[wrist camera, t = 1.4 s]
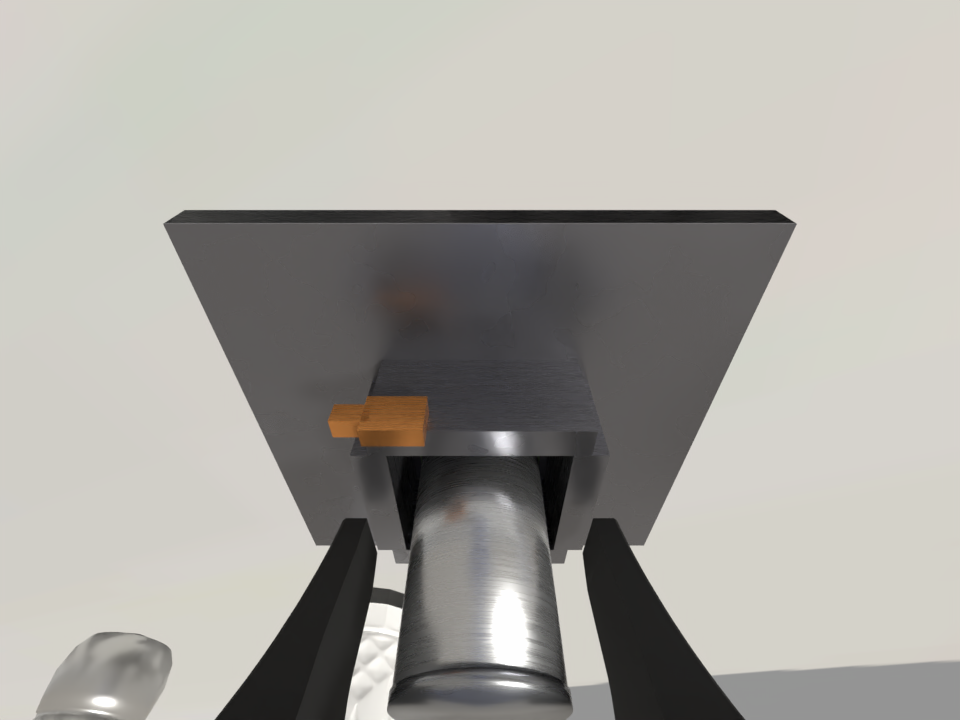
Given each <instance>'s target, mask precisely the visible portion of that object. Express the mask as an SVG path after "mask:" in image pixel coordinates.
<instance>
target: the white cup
mask: <svg viewBox="0 0 960 720" xmlns="http://www.w3.org/2000/svg"><path fill="white" fill-rule="evenodd" d="M403 601H404V594H403V593H401V592H398V591H394V590H391V589H385V588H376V587H373V591H372V595H371V600H370V604H369V608H368V613H367V617H366V621H365V625H364V630H363V634H362V638H361V642H360V646H359V651H358V655H357V659H356V663H355V667H354V672H353V676H352V681H351V686H350V691H349V696H348V702H347V709H346V715H345V720H394V719H393V718H392V717H390V716H389V714H388V713H387V705H388V697H389V691H390V689H391V687H392V684H393V677H394V669H395V661H396V654H397V646H398V639H399V631H400V624H401V616H402V608H403Z"/></svg>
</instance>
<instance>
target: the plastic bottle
mask: <svg viewBox="0 0 960 720" xmlns="http://www.w3.org/2000/svg"><path fill="white" fill-rule="evenodd" d="M171 668H172V651H171V649H170V648H169V647H168V646H167V645H165V644H164V643H162V642H159V641H157V640H154V639H152V638H149V637H146V636H144V635H141V634H136V633H123V632H102V633H97V634H94V635H92V636H91V637H89V638H88V639H86V640H85V641H83V642H82V643H80V644H79V645H77V646H76V647H75V648H74V649H73V651H72V652H71V653H70V654H69V655H68V656H67V658H66V659H65V660H64V661H63V662H62V664H61V665H60V666H59V667H58V668H57V670H56V672H55V673H54V675H53V677H52V679H51V681H50V683H49V685H48V687H47V689H46V691H45V692H44V694H43V697H42V699H41V701H40V703H39V706H38V708H37V710H36V713H37V715H36V717H35V718H34V719H33V720H145V719H146V718H147V716H148V715H149V713H150V712H151V710H152V709H153V707H154V705H155V704H156V702H157V700H158V699H159V697H160V695H161V694H162V692H163V690H164V689H165V686H166V683H167V680H168V677H169V674H170V671H171Z"/></svg>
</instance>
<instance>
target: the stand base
mask: <svg viewBox="0 0 960 720" xmlns="http://www.w3.org/2000/svg"><path fill="white" fill-rule="evenodd" d="M163 225H164V227H165V229H166V231H167V233H168V235H169V238H170V240H171V242H172V244H173V246H174V248H175V250H176V252H177V254H178V256H179V259H180V261H181V263H182V265H183V267H184V269H185V271H186V273H187V275H188V277H189V280H190V282H191V284H192V286H193V288H194V290H195V292H196V294H197V296H198V298H199V301H200V303H201V305H202V307H203V309H204V311H205V313H206V315H207V317H208V319H209V322H210V324H211V326H212V328H213V330H214V332H215V334H216V336H217V338H218V340H219V343H220V345H221V347H222V349H223V351H224V353H225V355H226V357H227V359H228V362H229V364H230V366H231V368H232V370H233V372H234V374H235V376H236V378H237V380H238V383H239V385H240V387H241V389H242V391H243V393H244V395H245V397H246V399H247V401H248V404H249V406H250V408H251V410H252V412H253V414H254V416H255V418H256V420H257V422H258V425H259V427H260V429H261V431H262V433H263V435H264V437H265V439H266V441H267V443H268V446H269V448H270V450H271V452H272V454H273V456H274V458H275V460H276V462H277V464H278V467H279V469H280V471H281V473H282V475H283V477H284V479H285V481H286V483H287V485H288V488H289V490H290V492H291V494H292V496H293V498H294V500H295V502H296V504H297V507H298V509H299V511H300V513H301V515H302V517H303V519H304V521H305V523H306V525H307V528H308V530H309V532H310V534H311V536H312V538H313V540H314V542H315V544H316V546H331V544H332V542H333V540H334V538H335V536H336V534H337V532H338V530H339V528H340V525H341V523H342V521H343V520H344V519H346V518H367V520H368V524H369V527H370V530H371V533H372V537H373V540H374V543H375V546H377V548H378V550H392V551H393V555H394V559H395V563H396V564H408V563H409V555H410V548H411V540H412V533H413V525H414V517H415V510H416V502H417V495H418V487H419V479H420V472H421V458H420V456H540V458H539V472H540V479H541V487H542V495H543V502H544V510H545V517H546V525H547V533H548V540H549V548H550V555H551V563H552V564H564V563H565V559H566V555H567V551H568V550H582V548H583V546H585V543H586V540H587V537H588V533H589V530H590V527H591V523H592V520H593V518H615V519H616V520H617V522H618V524H619V526H620V528H621V530H622V532H623V534H624V536H625V538H626V540H627V542H628V544H629V546H644V544H645V542H646V540H647V538H648V536H649V534H650V532H651V530H652V528H653V525H654V523H655V521H656V519H657V517H658V515H659V513H660V511H661V509H662V507H663V504H664V502H665V500H666V498H667V496H668V494H669V492H670V490H671V488H672V485H673V483H674V481H675V479H676V477H677V475H678V473H679V471H680V469H681V467H682V464H683V462H684V460H685V458H686V456H687V454H688V452H689V450H690V448H691V446H692V443H693V441H694V439H695V437H696V435H697V433H698V431H699V429H700V427H701V425H702V422H703V420H704V418H705V416H706V414H707V412H708V410H709V408H710V406H711V404H712V401H713V399H714V397H715V395H716V393H717V391H718V389H719V387H720V385H721V383H722V380H723V378H724V376H725V374H726V372H727V370H728V368H729V366H730V364H731V362H732V359H733V357H734V355H735V353H736V351H737V349H738V347H739V345H740V343H741V340H742V338H743V336H744V334H745V332H746V330H747V328H748V326H749V324H750V322H751V319H752V317H753V315H754V313H755V311H756V309H757V307H758V305H759V303H760V301H761V298H762V296H763V294H764V292H765V290H766V288H767V286H768V284H769V282H770V280H771V277H772V275H773V273H774V271H775V269H776V267H777V265H778V263H779V261H780V259H781V256H782V254H783V252H784V250H785V248H786V246H787V244H788V242H789V240H790V238H791V235H792V233H793V231H794V229H795V227H796V225H797V223H795V222H793V221H792V220H790V219H789V218H787V217H786V216H784V215H783V214H781V213H779V212H778V211H776V210H184V211H182V212H181V213H179V214H177V215H176V216H174V217H173V218H171V219H170V220H168V221H167V222H165V223H163Z"/></svg>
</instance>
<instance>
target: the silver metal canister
mask: <svg viewBox="0 0 960 720" xmlns="http://www.w3.org/2000/svg"><path fill="white" fill-rule="evenodd" d="M420 458H421V472H420V479H419V487H418V495H417V502H416V510H415V517H414V525H413V533H412V540H411V548H410V555H409V563H408V570H407V578H406V586H405V593H404V601H403V608H402V616H401V624H400V631H399V639H398V646H397V654H396V661H395V669H394V677H393V684H392V687H391V689H390V691H389V697H388V705H387V713H388V714H389V716H390V717H392V718H393V719H394V720H566V719H567V718H568V717H570V716H571V714H572V713H573V705H572V697H571V691H570V689H569V687H568V684H567V677H566V669H565V661H564V654H563V646H562V639H561V631H560V624H559V616H558V608H557V601H556V593H555V586H554V578H553V570H552V563H551V555H550V548H549V540H548V533H547V525H546V517H545V510H544V502H543V495H542V487H541V479H540V472H539V458H540V456H420Z"/></svg>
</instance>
